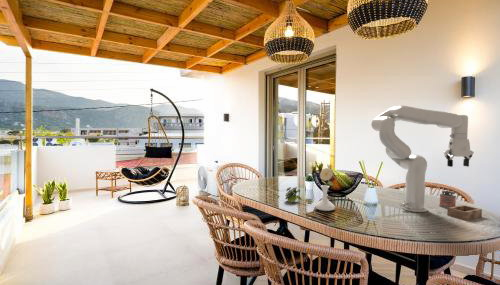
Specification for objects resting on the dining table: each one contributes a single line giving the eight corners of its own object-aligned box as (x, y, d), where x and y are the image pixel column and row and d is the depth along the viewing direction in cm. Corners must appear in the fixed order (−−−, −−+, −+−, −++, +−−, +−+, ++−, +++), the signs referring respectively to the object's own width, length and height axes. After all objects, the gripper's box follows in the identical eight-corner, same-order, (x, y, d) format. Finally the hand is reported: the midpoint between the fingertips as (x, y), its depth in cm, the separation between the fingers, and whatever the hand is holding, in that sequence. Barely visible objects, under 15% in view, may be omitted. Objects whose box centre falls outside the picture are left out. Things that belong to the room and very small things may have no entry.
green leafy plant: (288, 208, 185) (289, 191, 191) (304, 207, 180) (305, 190, 186) (281, 202, 177) (283, 184, 184) (297, 200, 172) (298, 183, 178)
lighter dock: (465, 220, 143) (465, 212, 143) (447, 215, 152) (447, 207, 151) (481, 216, 148) (481, 209, 148) (463, 212, 157) (463, 205, 156)
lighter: (438, 206, 168) (439, 190, 167) (440, 205, 170) (440, 189, 169) (455, 209, 162) (455, 192, 161) (456, 208, 164) (456, 191, 164)
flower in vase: (311, 208, 167) (311, 166, 165) (327, 206, 170) (327, 165, 169) (323, 214, 154) (324, 169, 153) (341, 212, 158) (341, 168, 157)
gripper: (449, 136, 156) (448, 167, 157) (479, 136, 158) (477, 167, 158) (439, 136, 164) (438, 165, 165) (468, 136, 165) (466, 165, 166)
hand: (458, 166), depth 162 cm, fingers open, 9 cm apart
